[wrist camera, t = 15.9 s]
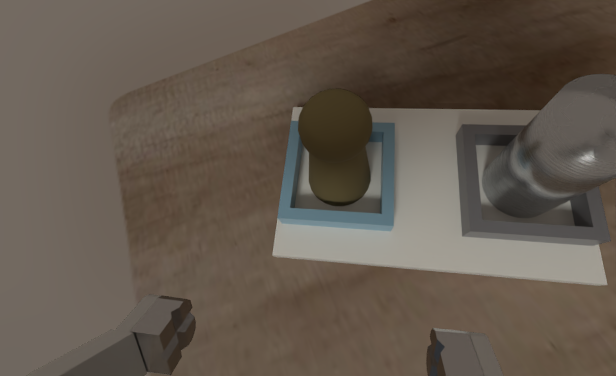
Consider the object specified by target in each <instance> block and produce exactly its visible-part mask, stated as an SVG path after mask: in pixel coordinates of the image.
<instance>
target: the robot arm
mask: <svg viewBox="0 0 616 376" xmlns="http://www.w3.org/2000/svg"><path fill="white" fill-rule="evenodd" d="M191 309H192V304H191V300H188V299H182V298H176V297H169V296H161V295H154V294H149V295H147V296H145V297H144V298H143V299H142V300H141V301H140V302H139V304H138V305H137V306H136V307H135V308H134V309H133V310H132V312H131V313H130V314H129V315H128V316H127V317H126V318H125V319H124V321H123V322H122V323H121V324H120V325H119V326H118V327H117V328H116V330H109V331H108V332H106V333H104V334H102V335H100V336H98V337H96V338H94V339H93V340H91V341H89V342H87V343H85V344H83V345H81V346H79V347H78V348H76V349H74V350H72V351H70V352H68V353H67V354H65V355H63V356H61V357H59V358H57V359H55V360H54V361H52V362H50V363H48V364H46V365H44V366H42V367H40V368H38V369H37V370H35V371H33V372H31V373H29V374H28V375H27V376H145V375H146V374H147V372H152V373H160V374H167V375H171V374H172V372H173V371H174V369H175V367H176V366H177V364H178V362H179V361H180V359H181V357H182V355H181V350H182V349H184V348H185V347H187V346H188V345H189V344H190V342H191V340H192V338H193V335H194V332H195V328H196V321H195V317H194V316H193V315H192V314H191V313H190V311H191ZM430 340H431V345H430V346H428V349H427V358H426V365H427V373H428V376H504V375H503V372H502V370H501V367H500V365H499V363H498V360H497V358H496V356H495V353H494V351H493V348H492V346H491V344H490V341H489V339H488V337H487V336H486V335H485V334H483V333H474V332H465V331H456V330H447V329H438V328H432V330H431V334H430Z"/></svg>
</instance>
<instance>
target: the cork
mask: <svg viewBox="0 0 616 376" xmlns="http://www.w3.org/2000/svg"><path fill="white" fill-rule="evenodd" d="M372 128H373V127H372V116H371V113H370V110H369V108H368V106H367V104H366V103H365V102H364V101H363V100H362V99H361V97H359V96H358V95H356V94H354V93H352V92H351V91H348V90H344V89H328V90H324V91H321V92H319V93H317V94H316V95H314V96H313V97H311V98H310V99H309V101H308V102H307V103H306V104H305V105H304V106H303V108H302V110H301V113H300V115H299V120H298V132H299V135H300V139H301V142H302V144H303V146H304V147H305V148H306V149H307V151H308V152H309V184H310V187H311V190H312V192H313V193H314V195H315V196H316V197H317V198H318V199H319V200H321V201H322V202H324V203H326V204H329V205H332V206H346V205H350V204H353V203H355V202H356V201H358V200H359V199H361V198H362V197H363V196H364V194H365V193H366V192H367V190H368V188H369V185H370V182H371V176H370V167H369V162H368V157H367V151H366V145H367V144H368V142H369V139H370V136H371V134H372Z"/></svg>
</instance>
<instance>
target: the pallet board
mask: <svg viewBox="0 0 616 376" xmlns="http://www.w3.org/2000/svg"><path fill="white" fill-rule="evenodd" d="M302 108H303V107H293V113H292V120H291V126H290V133H289V140H288V147H287V155H286V162H285V169H284V176H283V183H282V190H281V197H280V204H279V211H278V219H277V226H276V233H275V241H274V248H273V256H274V257H283V258H294V259H305V260H317V261H328V262H339V263H350V264H361V265H373V266H384V267H395V268H406V269H417V270H429V271H440V272H451V273H462V274H473V275H485V276H496V277H507V278H518V279H530V280H541V281H552V282H563V283H574V284H586V285H597V286H599V285H607V281H606V276H605V271H604V267H603V262H602V257H601V253H600V248H599V244H602V243H606V242H609V241H611V239H610V234H609V230H608V226H607V221H606V217H605V213H604V208H603V204H602V199H601V195H600V191H599V186H598V187H596V188H594V189H592V190H590V191H588V192H586V193H584V194H582V195H580V196H578V197H576V198H574V199H572V200H570V201H568V202H566V203H564V204H562V205H560V206H558V207H555V208H553V209H551V210H549V211H547V212H545V213H543V214H541V215H539V216H536V217H532V218H517V217H513V216H510V215H507V214H505V213H503V212H501V211H500V210H498V209H497V208H495V207H494V206H493V205H492V204H491V203H490V201H489V200H488V199H487V197H486V195H485V193H484V191H483V187H482V176H483V173H484V171H485V169H486V167H487V166H488V165H489V164H490V163H491V162H492V161H493V160H494V159H495V158H496V157H497V156H498V155H499V154H500V152H501V151H502V150H503V149H504V148H505V147H506V146H507V145H508V144H509V143H510V142H511V141H512V140H513V139H514V138H515V137H516V136H517V135H518V134H519V133H520V132H521V131H522V130H523V128H524V127H525V126H526V125H527V124H528V123H529V122H530V121H531V120H532V119H533V118H534V117H535V116H536V115H537V114H538V113H539V112H540V111H541V110H478V109H402V108H369V110H370V113H371V116H372V127H373V128H372V134H371V136H370V139H369V142H368V144H367V145H366V151H367V157H368V162H369V167H370V176H371V182H370V185H369V188H368V190H367V192H366V193H365V194H364V196H363V197H362V198H361V199H359V200H358V201H356V202H355V203H353V204H350V205H346V206H332V205H329V204H326V203H324V202H322V201H321V200H319V199H318V198H317V197H316V196H315V195H314V193H313V192H312V190H311V187H310V184H309V152H308V151H307V149H306V148H305V147H304V146H303V144H302V142H301V139H300V135H299V132H298V120H299V115H300V113H301V110H302Z"/></svg>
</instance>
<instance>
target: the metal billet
mask: <svg viewBox="0 0 616 376" xmlns="http://www.w3.org/2000/svg"><path fill="white" fill-rule="evenodd" d="M614 178H616V75H610V74H592V75H586V76H583V77H579V78H577V79H574V80H572V81H571V82H569V83H568V84H566V85H565V86H564V87H563V88H562V89H561V90H560V91H559V92H558V93H557V94H556V95H555V96H554V97H553V98H552V99H551V100H550V101H549V102H548V103H547V104H546V106H545V107H544V108H543V109H542V110H541V111H540V112H539V113H538V114H537V115H536V116H535V117H534V118H533V119H532V120H531V121H530V122H529V123H528V124H527V125H526V126H525V127H524V128H523V130H522V131H521V132H520V133H519V134H518V135H517V136H516V137H515V138H514V139H513V140H512V141H511V142H510V143H509V144H508V145H507V146H506V147H505V148H504V149H503V150H502V151H501V152H500V154H499V155H498V156H497V157H496V158H495V159H494V160H493V161H492V162H491V163H490V164H489V165H488V166H487V167H486V169H485V171H484V173H483V176H482V187H483V191H484V193H485V195H486V197H487V199H488V200H489V201H490V203H491V204H492V205H493V206H494V207H495V208H497V209H498V210H500V211H501V212H503V213H505V214H507V215H510V216H513V217H517V218H532V217H536V216H539V215H541V214H543V213H545V212H547V211H549V210H551V209H553V208H555V207H558V206H560V205H562V204H564V203H566V202H568V201H570V200H572V199H574V198H576V197H578V196H580V195H582V194H584V193H586V192H588V191H590V190H592V189H594V188H596V187H598V186H600V185H602V184H604V183H606V182H608V181H610V180H612V179H614Z"/></svg>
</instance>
